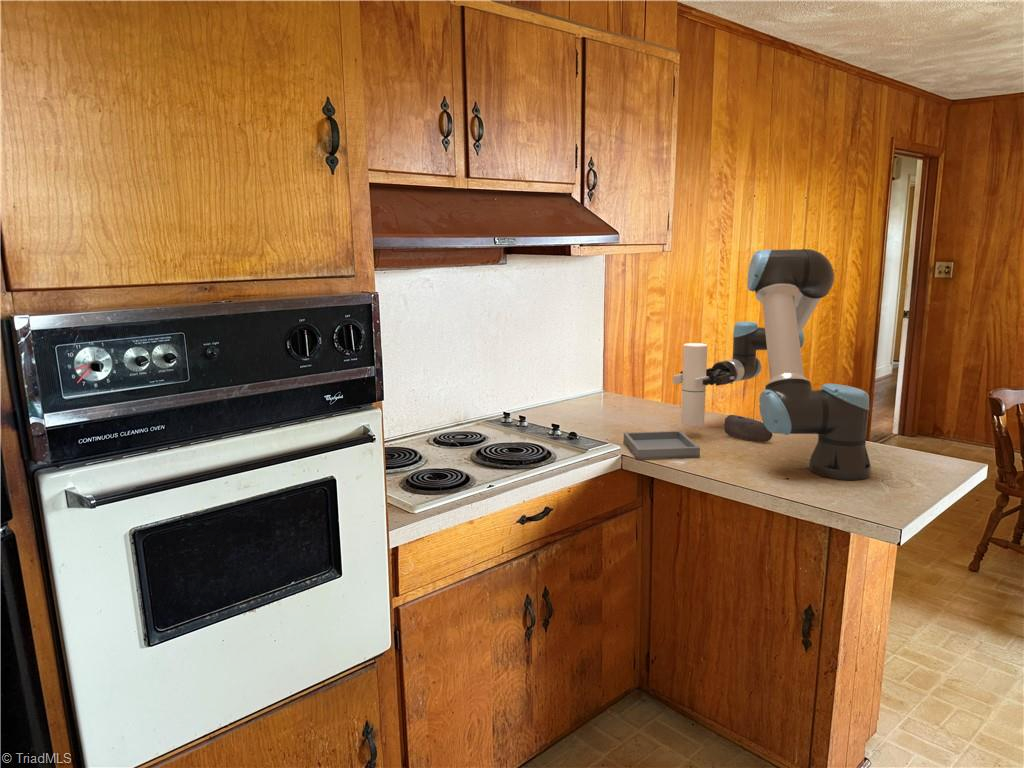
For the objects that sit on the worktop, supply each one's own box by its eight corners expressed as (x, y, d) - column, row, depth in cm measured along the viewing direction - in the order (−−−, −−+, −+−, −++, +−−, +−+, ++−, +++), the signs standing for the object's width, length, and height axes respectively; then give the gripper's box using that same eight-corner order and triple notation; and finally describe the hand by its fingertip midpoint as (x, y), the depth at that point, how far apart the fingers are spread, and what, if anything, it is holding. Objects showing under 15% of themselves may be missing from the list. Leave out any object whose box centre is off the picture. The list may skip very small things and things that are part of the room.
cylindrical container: (706, 421, 231) (709, 343, 227) (701, 426, 225) (705, 346, 220) (683, 419, 234) (686, 342, 229) (678, 424, 228) (681, 345, 223)
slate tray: (699, 457, 209) (700, 447, 208) (638, 460, 207) (638, 449, 207) (680, 439, 226) (680, 430, 226) (623, 442, 225) (623, 432, 224)
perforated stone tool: (775, 442, 223) (776, 420, 221) (767, 446, 219) (769, 424, 218) (730, 433, 233) (731, 412, 232) (722, 437, 229) (723, 415, 228)
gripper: (753, 387, 232) (711, 398, 217) (700, 379, 247) (658, 388, 232) (755, 364, 230) (712, 373, 216) (701, 357, 245) (658, 365, 231)
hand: (684, 381), depth 224 cm, fingers closed on cylindrical container, 7 cm apart
